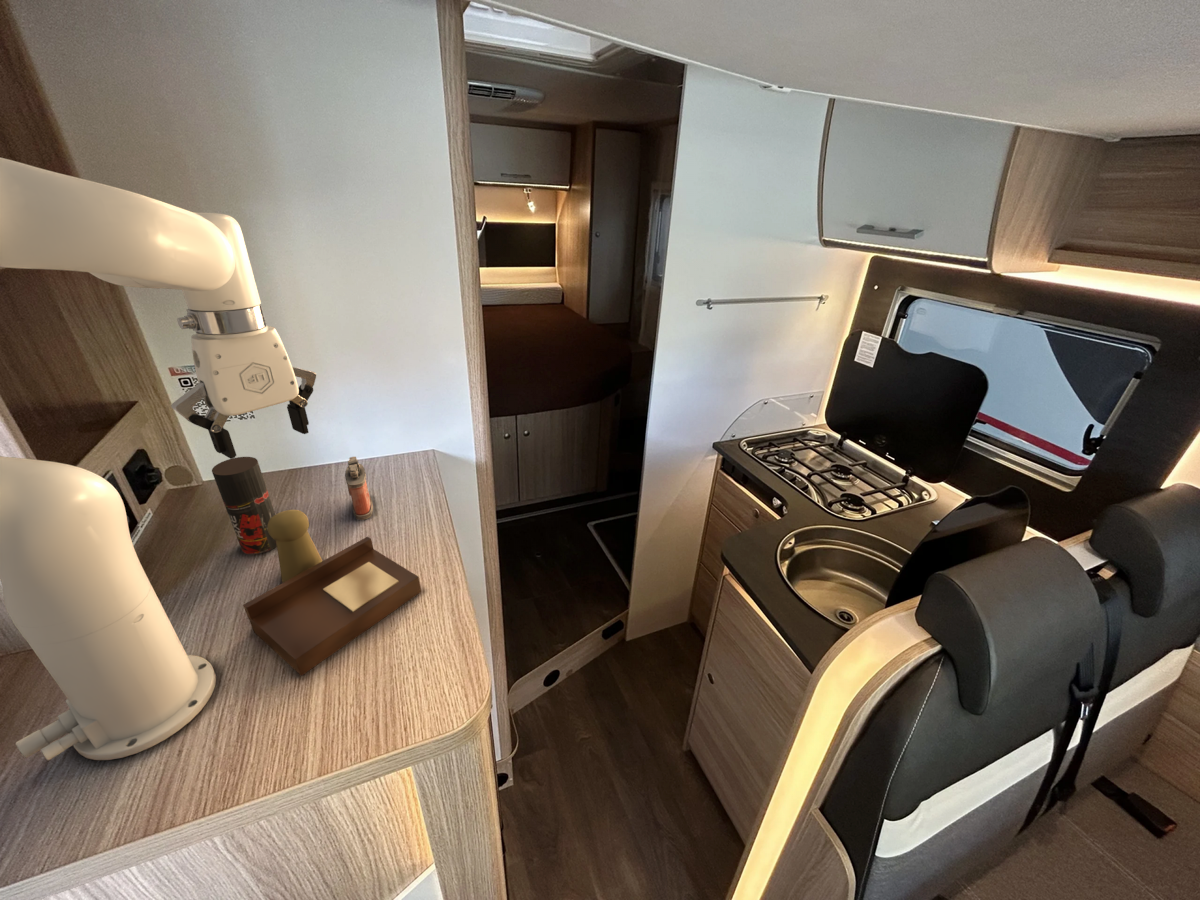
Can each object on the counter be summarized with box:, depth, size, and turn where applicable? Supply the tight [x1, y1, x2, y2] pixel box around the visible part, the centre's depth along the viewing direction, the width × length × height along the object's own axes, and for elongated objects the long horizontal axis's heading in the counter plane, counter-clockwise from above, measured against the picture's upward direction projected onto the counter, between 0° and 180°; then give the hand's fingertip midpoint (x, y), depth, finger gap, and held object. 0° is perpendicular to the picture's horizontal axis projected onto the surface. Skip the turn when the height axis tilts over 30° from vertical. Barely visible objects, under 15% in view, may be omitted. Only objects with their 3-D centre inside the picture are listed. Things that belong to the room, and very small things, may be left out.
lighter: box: [344, 456, 374, 521], centre depth 91 cm, size 8×3×10 cm, turn 25°
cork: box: [268, 509, 323, 584], centre depth 75 cm, size 6×6×11 cm
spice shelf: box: [242, 536, 422, 677], centre depth 70 cm, size 18×12×5 cm, turn 146°
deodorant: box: [211, 456, 277, 555], centre depth 80 cm, size 6×6×15 cm
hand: (266, 442), depth 70 cm, fingers open, 9 cm apart
